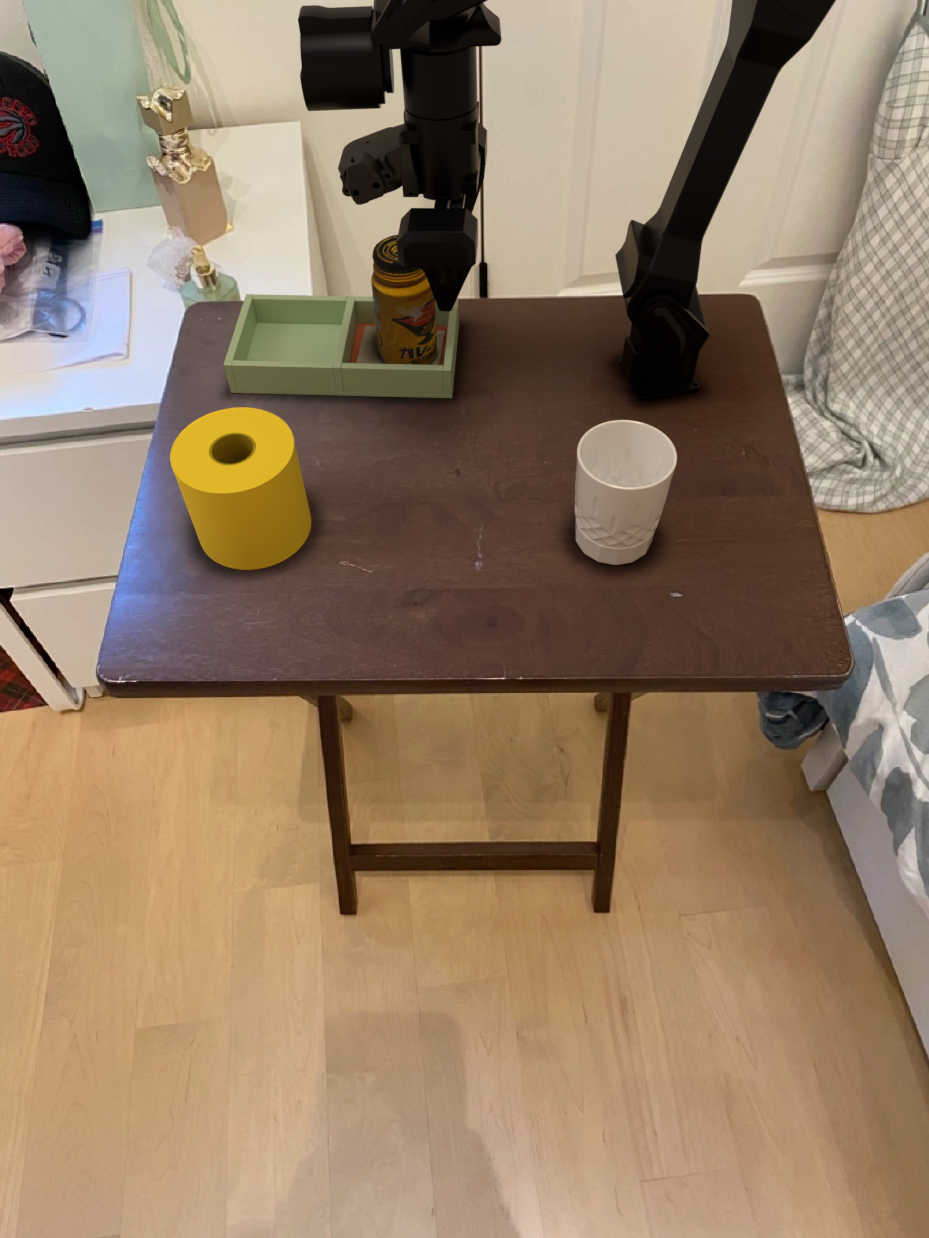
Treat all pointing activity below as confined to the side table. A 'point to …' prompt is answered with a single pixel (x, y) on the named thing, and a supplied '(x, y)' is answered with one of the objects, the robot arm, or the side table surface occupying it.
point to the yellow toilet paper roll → (242, 487)
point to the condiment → (400, 313)
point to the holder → (327, 350)
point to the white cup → (621, 489)
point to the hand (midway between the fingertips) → (449, 279)
